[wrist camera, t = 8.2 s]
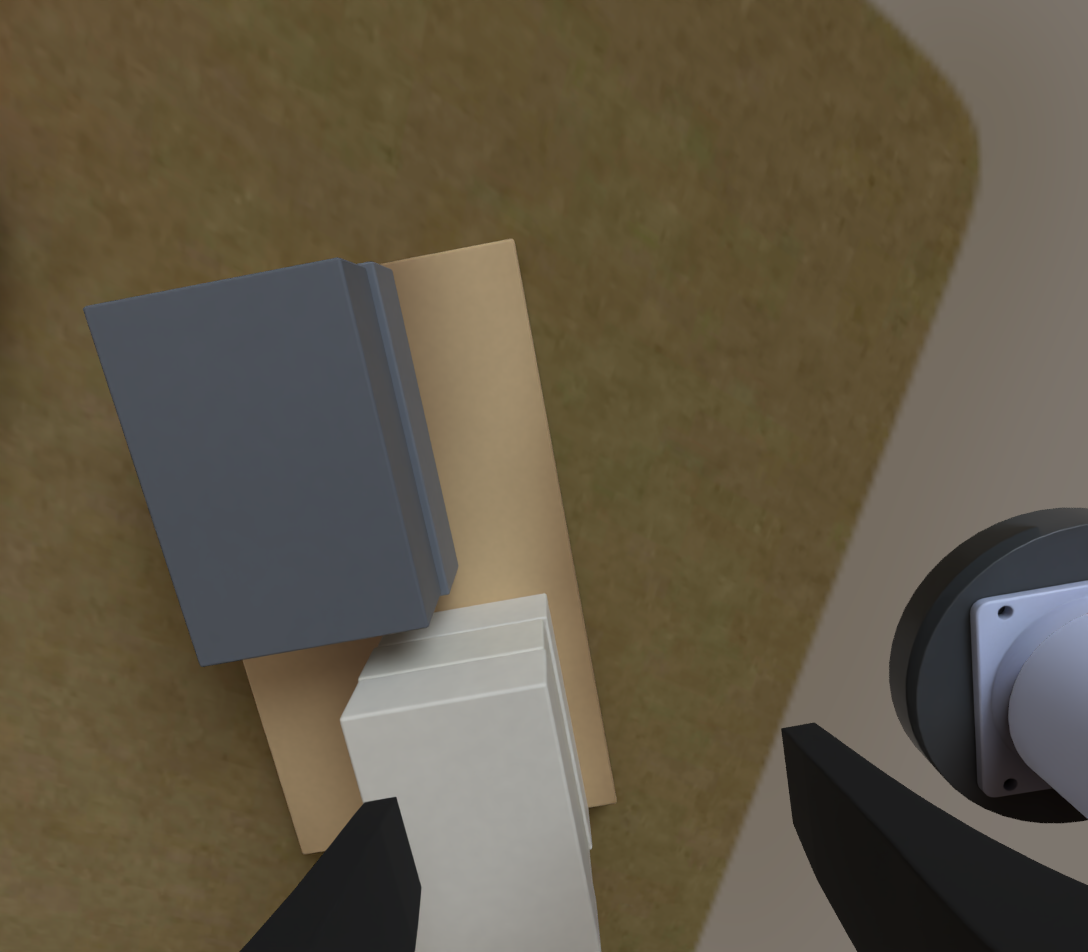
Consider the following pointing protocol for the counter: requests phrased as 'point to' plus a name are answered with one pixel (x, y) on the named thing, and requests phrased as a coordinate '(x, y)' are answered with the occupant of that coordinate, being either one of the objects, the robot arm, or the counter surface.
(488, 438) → the shelf board
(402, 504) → the grey books
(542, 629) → the white books
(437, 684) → the white book
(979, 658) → the robot arm
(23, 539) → the counter surface
